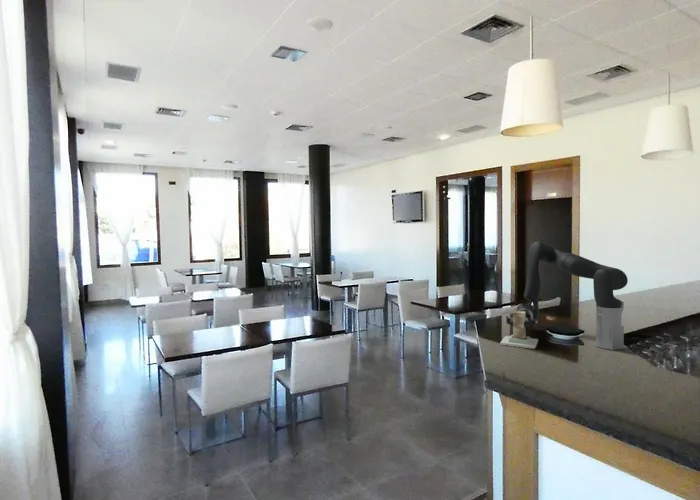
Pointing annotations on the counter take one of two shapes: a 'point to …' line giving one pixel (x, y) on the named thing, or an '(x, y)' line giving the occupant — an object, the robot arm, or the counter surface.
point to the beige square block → (519, 325)
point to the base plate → (519, 342)
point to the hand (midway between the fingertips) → (518, 324)
